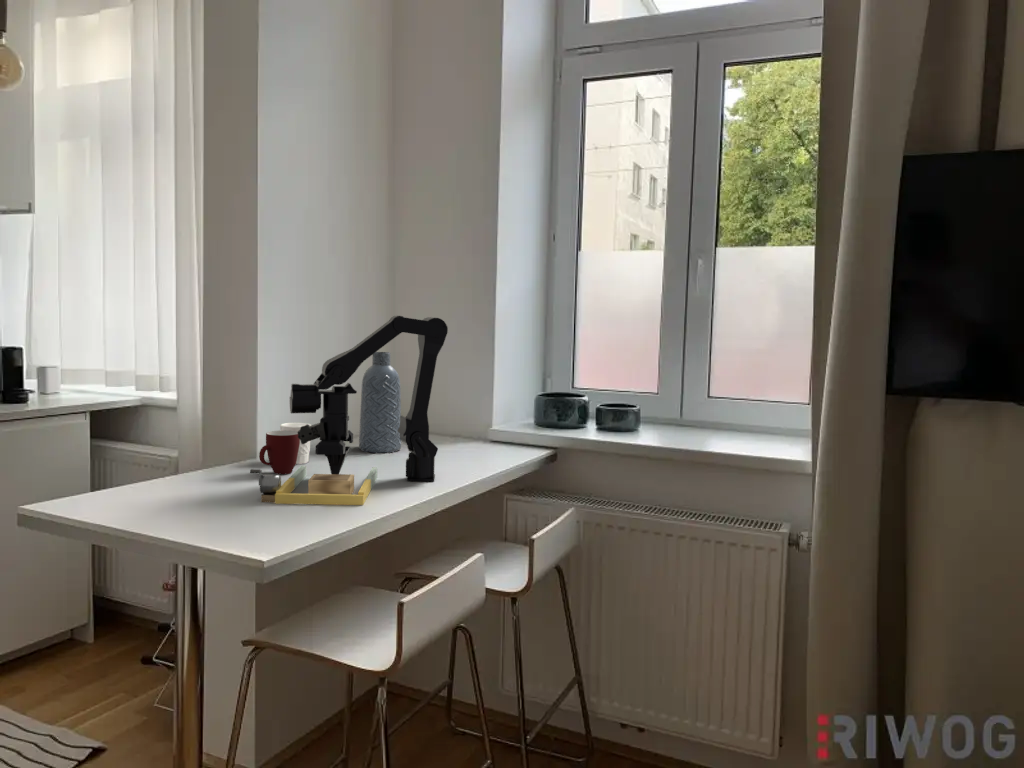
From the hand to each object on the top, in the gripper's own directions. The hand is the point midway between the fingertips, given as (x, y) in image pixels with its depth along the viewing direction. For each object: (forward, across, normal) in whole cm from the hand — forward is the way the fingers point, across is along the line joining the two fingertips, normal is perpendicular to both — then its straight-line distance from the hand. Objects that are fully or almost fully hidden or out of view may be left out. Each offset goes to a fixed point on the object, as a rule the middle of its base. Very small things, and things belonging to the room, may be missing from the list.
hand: (335, 478), depth 195 cm
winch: (+1, +18, -12) cm, 22 cm away
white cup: (+1, -24, -14) cm, 28 cm away
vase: (+1, -45, +6) cm, 46 cm away
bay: (+1, +7, 0) cm, 7 cm away
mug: (+1, -9, -15) cm, 18 cm away
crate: (+1, +11, +1) cm, 11 cm away
